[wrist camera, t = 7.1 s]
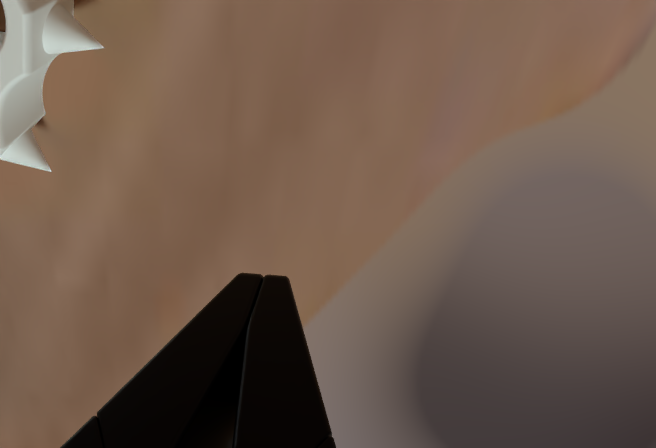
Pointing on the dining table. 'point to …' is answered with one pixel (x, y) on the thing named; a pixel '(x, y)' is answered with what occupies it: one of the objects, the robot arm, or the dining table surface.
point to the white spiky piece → (32, 69)
